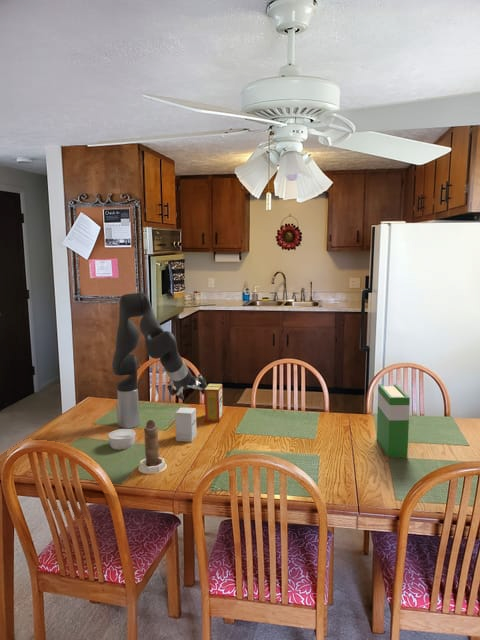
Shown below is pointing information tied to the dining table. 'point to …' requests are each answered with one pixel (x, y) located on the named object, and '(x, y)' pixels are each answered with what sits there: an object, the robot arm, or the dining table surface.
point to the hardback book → (393, 420)
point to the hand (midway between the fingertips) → (193, 395)
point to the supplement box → (185, 424)
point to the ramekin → (122, 438)
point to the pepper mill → (151, 444)
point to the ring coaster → (152, 467)
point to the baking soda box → (213, 403)
